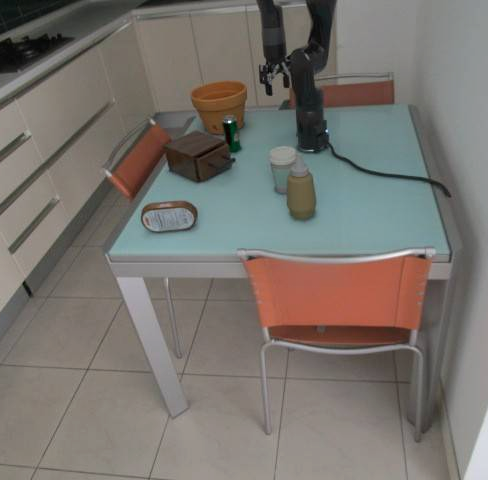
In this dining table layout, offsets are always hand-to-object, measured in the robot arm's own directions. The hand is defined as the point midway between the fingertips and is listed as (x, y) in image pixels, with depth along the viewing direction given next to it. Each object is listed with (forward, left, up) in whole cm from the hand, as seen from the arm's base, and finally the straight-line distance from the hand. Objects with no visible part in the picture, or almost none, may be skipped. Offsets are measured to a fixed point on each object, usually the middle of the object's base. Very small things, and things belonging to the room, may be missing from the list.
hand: (278, 91), depth 157 cm
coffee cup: (-24, +26, -17) cm, 39 cm away
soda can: (+9, +16, -17) cm, 25 cm away
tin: (-13, +60, -17) cm, 63 cm away
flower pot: (+27, +4, -17) cm, 32 cm away
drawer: (+3, +32, -16) cm, 36 cm away
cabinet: (+9, +32, -17) cm, 37 cm away
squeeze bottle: (-37, +34, -17) cm, 53 cm away
